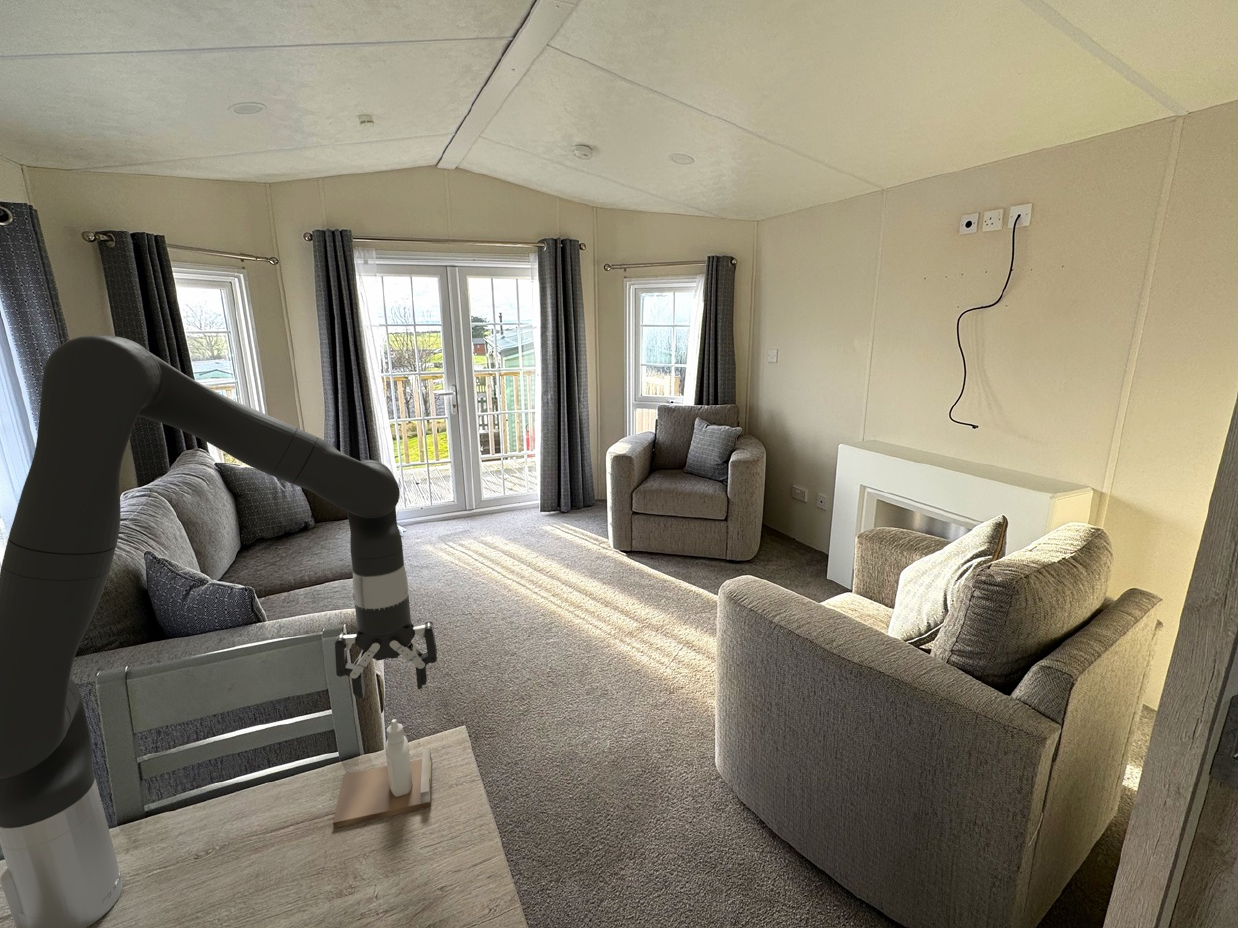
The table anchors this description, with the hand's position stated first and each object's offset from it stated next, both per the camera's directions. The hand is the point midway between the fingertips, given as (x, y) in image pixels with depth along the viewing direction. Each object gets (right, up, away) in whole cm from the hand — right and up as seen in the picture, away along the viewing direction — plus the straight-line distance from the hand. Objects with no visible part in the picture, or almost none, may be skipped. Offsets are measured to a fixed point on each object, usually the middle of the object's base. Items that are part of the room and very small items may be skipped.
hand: (391, 690), depth 91 cm
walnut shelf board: (-2, -18, +4) cm, 18 cm away
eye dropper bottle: (0, -17, +4) cm, 18 cm away
